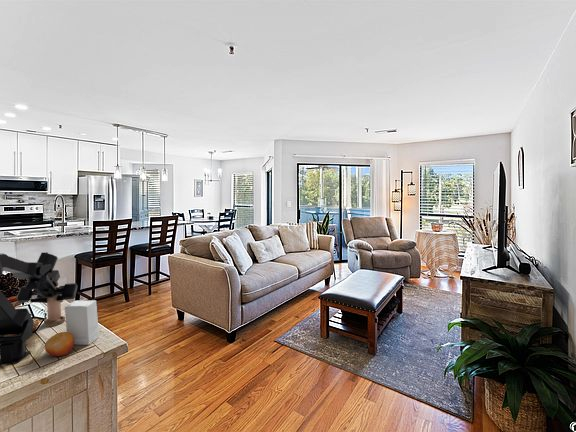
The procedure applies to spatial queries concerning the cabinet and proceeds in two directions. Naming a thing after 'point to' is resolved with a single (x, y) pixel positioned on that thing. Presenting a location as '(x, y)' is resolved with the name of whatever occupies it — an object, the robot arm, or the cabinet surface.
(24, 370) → the cabinet surface
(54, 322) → the coaster
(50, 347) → the fruit
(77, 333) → the skincare box
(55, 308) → the vase
